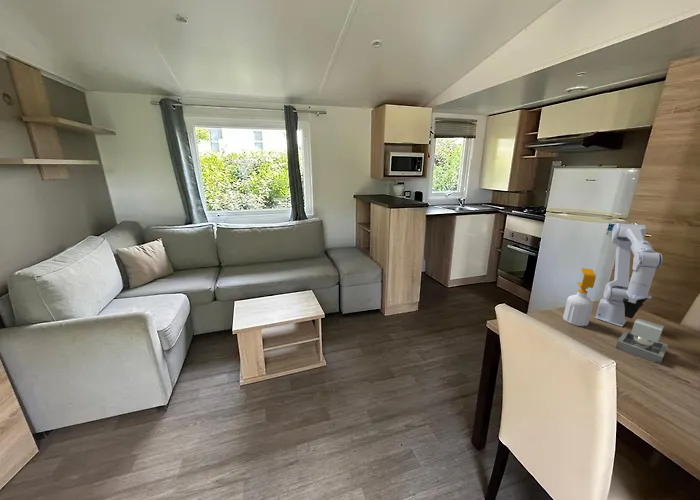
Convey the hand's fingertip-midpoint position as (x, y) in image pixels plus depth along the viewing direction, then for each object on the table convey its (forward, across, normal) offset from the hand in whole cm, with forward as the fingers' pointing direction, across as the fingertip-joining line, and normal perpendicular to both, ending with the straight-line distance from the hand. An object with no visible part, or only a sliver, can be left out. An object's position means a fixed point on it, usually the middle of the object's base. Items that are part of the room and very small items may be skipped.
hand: (630, 314), depth 114 cm
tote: (+11, -5, -6) cm, 13 cm away
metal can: (+10, -5, -6) cm, 12 cm away
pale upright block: (+5, -6, -6) cm, 9 cm away
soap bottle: (+10, 0, +16) cm, 19 cm away
